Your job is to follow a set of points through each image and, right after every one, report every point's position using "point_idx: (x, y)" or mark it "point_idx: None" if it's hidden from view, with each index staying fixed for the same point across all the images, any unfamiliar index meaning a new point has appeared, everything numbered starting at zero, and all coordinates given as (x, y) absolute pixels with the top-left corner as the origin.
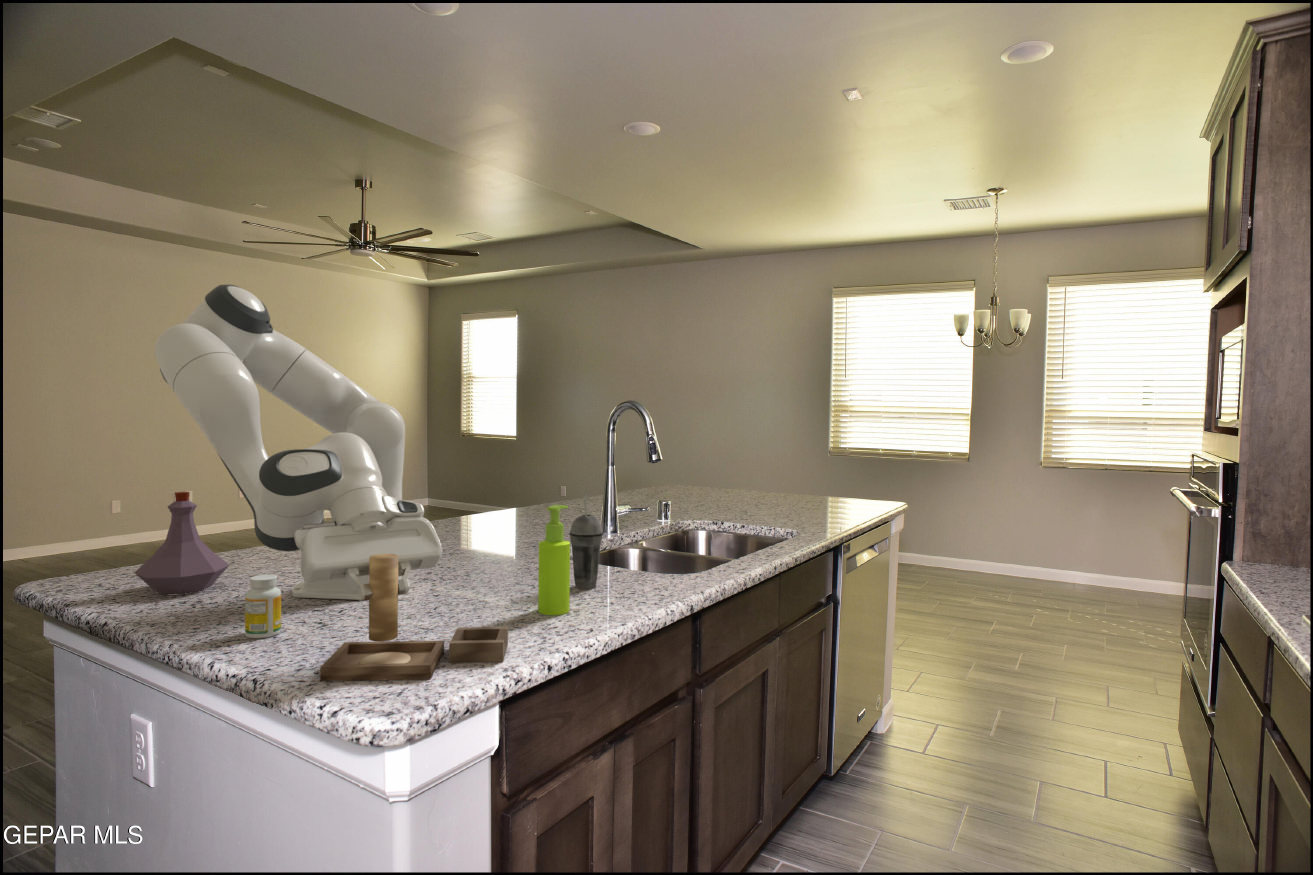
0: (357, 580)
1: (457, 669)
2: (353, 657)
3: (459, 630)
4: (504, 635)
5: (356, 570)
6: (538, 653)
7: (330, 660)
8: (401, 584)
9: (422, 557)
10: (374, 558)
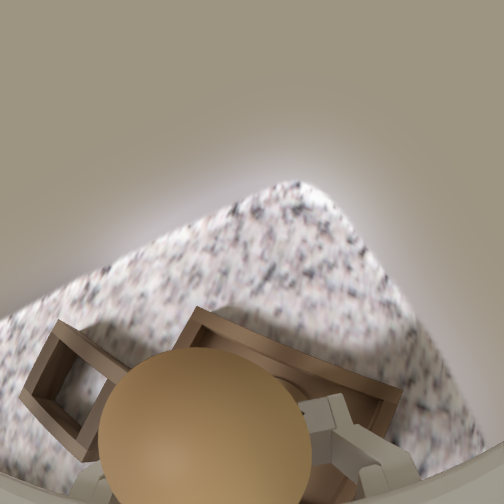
0: (365, 437)
1: (147, 338)
2: (319, 481)
3: (84, 441)
4: (41, 353)
5: (374, 486)
6: (31, 335)
7: (380, 427)
8: None
9: (9, 476)
10: (282, 408)
